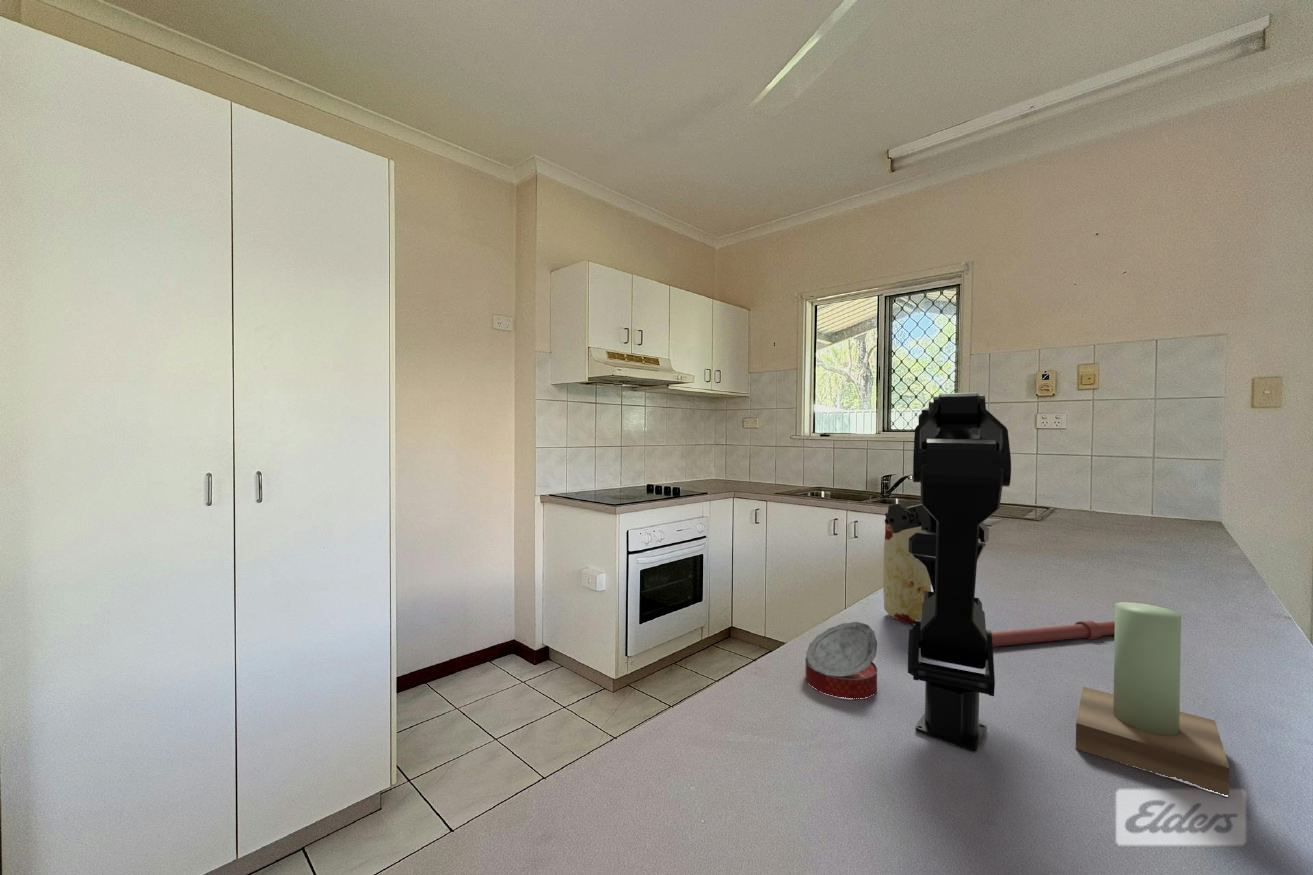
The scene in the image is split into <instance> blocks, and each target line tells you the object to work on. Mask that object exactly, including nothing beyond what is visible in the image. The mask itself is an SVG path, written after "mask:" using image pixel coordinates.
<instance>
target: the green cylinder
mask: <svg viewBox="0 0 1313 875" xmlns="http://www.w3.org/2000/svg"><path fill="white" fill-rule="evenodd" d="M1114 621H1115V634H1114V642H1113V643H1114V644H1113V645H1114V647H1113V648H1114V649H1113V651H1114V652H1113V654H1114V655H1113V657H1114V658H1113V694H1114V700H1113V714H1114V716H1115V717H1116V718H1117V719H1118V720H1120V721H1121V722H1123V723H1125V724H1127V725H1129V726H1131V727H1134V728H1136V729H1139V730H1142V731H1145V732H1149V733H1153V734H1159V735H1176V734H1178V733H1179V716H1180V712H1181V711H1180V710H1181V709H1180V706H1181V705H1180V704H1181V703H1180V702H1181V656H1182V655H1181V652H1182V651H1181V650H1182V615H1181V614H1180V613H1178V612H1177V611H1174V610H1171V609H1169V608H1166V607H1160V606H1157V605H1153V604H1148V603H1147V604H1145V603H1139V602H1128V601H1127V602H1126V601H1125V602H1123V601H1122V602H1120V601H1119V602H1116V603H1115V604H1114Z"/></svg>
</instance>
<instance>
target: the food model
mask: <svg viewBox="0 0 1313 875" xmlns="http://www.w3.org/2000/svg"><path fill="white" fill-rule="evenodd" d="M884 524H885V525H884V526H885V527H884V532H885V533H884V540H883V541H884V542H883V558H882V559H883V568H882V569H883V574H882V577H883V578H882V582H883V583H882V588H883V589H882V590H883V593H882V594H883V608H884V611H885V612H886V613H887V614H888V615H889V616H890V617H892V618H893V619H896V620H898V621H900V622H903V623H905V624H909V625H911V626H913V624H915V619H919V620H921V608H922V603H923V602H924V595H925V594H926V592H927V591H930V592H932V585H931V581H930V578H929V574H928V571H927V568H926V566H925V565H924V564H923V563H922V562H921V561H919V560H918V559H916V558H914V556H913V555H912V553H910V552H909V538H910V537H911V536H912V535H914V534H915V533H916V532H919V531H921V526H920V527H915V528H911V529H906V530H901V532H899V533H892V531H891V528H890V525H887V524H886V523H885V522H884Z"/></svg>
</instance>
